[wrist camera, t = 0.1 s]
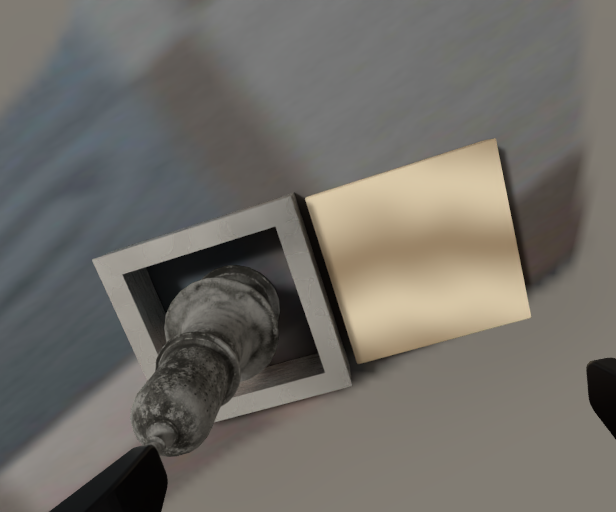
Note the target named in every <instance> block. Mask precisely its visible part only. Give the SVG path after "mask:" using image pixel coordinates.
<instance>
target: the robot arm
mask: <svg viewBox="0 0 616 512" xmlns="http://www.w3.org/2000/svg"><path fill="white" fill-rule="evenodd" d="M587 381H588V395H589V401H590V404H591V406H592V408H593V410H594V411H595V413H596V414H597V416H598V417H599V418H600V419H601V421H602V422H603V423H604V424H605V426H606V427H607V428H608V430H609V431H610V432H611V434H612V435H613V436H614V438H615V439H616V359H615V358H604V359H599V360H594V361H590V362H589V363H588V364H587ZM167 484H168V479H167V474H166V471H165V469H164V466H163V463H162V461H161V458H160V456H159V453H158V450H157V448H156V447H155V446H154V445H151V444H150V445H144V446H139V447H135V448H133V449H131V450H130V451H129V452H127V453H126V454H125V455H123V456H122V457H121V458H119V459H118V460H117V461H115V462H114V463H113V464H111V465H110V466H109V467H108V468H106V469H105V470H104V471H102V472H101V473H100V474H98V475H97V476H96V477H94V478H93V479H92V480H90V481H89V482H88V483H86V484H85V485H84V486H82V487H81V488H80V489H79V490H77V491H76V492H75V493H73V494H72V495H71V496H69V497H68V498H67V499H65V500H64V501H63V502H61V503H60V504H59V505H57V506H56V507H55V508H53V509H52V510H51V511H49V512H161V510H162V506H163V502H164V498H165V494H166V490H167Z"/></svg>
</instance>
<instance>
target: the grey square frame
mask: <svg viewBox="0 0 616 512" xmlns="http://www.w3.org/2000/svg"><path fill="white" fill-rule="evenodd" d="M272 227H276V230H277V233H278V236H279V239H280V242H281V244H282V247H283V250H284V253H285V256H286V259H287V262H288V265H289V268H290V271H291V274H292V277H293V280H294V283H295V286H296V289H297V291H298V294H299V297H300V300H301V303H302V306H303V309H304V312H305V315H306V318H307V321H308V324H309V327H310V330H311V333H312V336H313V338H314V341H315V344H316V347H317V350H318V353H316V354H313V355H309V356H305V357H302V358H298V359H294V360H291V361H287V362H283V363H280V364H276V365H272V366H269V367H265V368H264V369H263V370H262V371H261V372H260V373H259V374H257V375H255V376H254V377H252V378H250V379H249V380H246V381H242V382H240V384H239V387H238V389H237V391H236V393H235V395H234V396H233V397H232V398H231V400H230V401H229V402H228V403H226V404H225V405H223V406H221V407H220V409H219V412H218V414H217V416H216V419H215V421H214V422H217V421H221V420H225V419H229V418H233V417H236V416H240V415H244V414H248V413H252V412H255V411H259V410H263V409H267V408H271V407H274V406H278V405H282V404H286V403H290V402H293V401H297V400H301V399H305V398H309V397H312V396H316V395H320V394H324V393H328V392H331V391H335V390H339V389H343V388H347V387H350V386H352V380H351V373H350V366H349V361H348V358H347V355H346V352H345V349H344V346H343V343H342V340H341V336H340V333H339V330H338V327H337V324H336V321H335V318H334V315H333V312H332V309H331V305H330V302H329V299H328V296H327V293H326V290H325V287H324V284H323V281H322V278H321V274H320V271H319V268H318V265H317V262H316V259H315V256H314V253H313V250H312V247H311V243H310V240H309V237H308V234H307V231H306V228H305V225H304V222H303V219H302V216H301V213H300V209H299V206H298V203H297V200H296V197H295V194H294V193H291V194H288V195H285V196H281V197H278V198H275V199H272V200H269V201H266V202H263V203H260V204H257V205H253V206H250V207H247V208H244V209H241V210H238V211H235V212H232V213H229V214H225V215H222V216H219V217H216V218H213V219H210V220H207V221H204V222H201V223H197V224H194V225H191V226H188V227H185V228H182V229H179V230H176V231H173V232H169V233H166V234H163V235H160V236H157V237H154V238H151V239H148V240H145V241H141V242H138V243H135V244H132V245H129V246H126V247H123V248H120V249H117V250H114V251H112V252H109V253H107V254H105V255H102V256H100V257H98V258H95V259H93V260H92V261H93V263H94V265H95V267H96V270H97V272H98V274H99V276H100V278H101V280H102V283H103V285H104V287H105V289H106V291H107V294H108V296H109V298H110V300H111V302H112V305H113V307H114V309H115V311H116V313H117V315H118V318H119V320H120V322H121V324H122V326H123V329H124V331H125V333H126V335H127V337H128V339H129V342H130V344H131V346H132V348H133V350H134V353H135V355H136V357H137V359H138V361H139V363H140V366H141V368H142V370H143V372H144V374H145V377H146V379H147V381H148V380H149V379H150V377H151V376H152V375H153V374H154V372H155V366H156V359H157V357H158V354H159V352H160V350H161V349H162V347H163V346H164V345H165V344H166V343H167V342H166V336H165V330H164V326H165V318H166V313H165V311H164V309H163V306H162V304H161V302H160V299H159V297H158V295H157V292H156V290H155V288H154V285H153V283H152V281H151V278H150V276H149V274H148V271H147V269H146V267H148V266H151V265H154V264H157V263H160V262H164V261H167V260H170V259H173V258H176V257H179V256H183V255H186V254H189V253H192V252H195V251H199V250H202V249H205V248H208V247H211V246H215V245H218V244H221V243H224V242H227V241H231V240H234V239H237V238H240V237H243V236H246V235H250V234H253V233H256V232H259V231H262V230H266V229H269V228H272Z"/></svg>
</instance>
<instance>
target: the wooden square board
mask: <svg viewBox="0 0 616 512" xmlns="http://www.w3.org/2000/svg"><path fill="white" fill-rule="evenodd" d="M305 201H306V204H307V207H308V210H309V213H310V216H311V219H312V223H313V226H314V229H315V232H316V235H317V238H318V241H319V245H320V248H321V251H322V254H323V257H324V260H325V264H326V267H327V270H328V273H329V276H330V279H331V282H332V286H333V289H334V292H335V295H336V298H337V301H338V304H339V308H340V311H341V314H342V317H343V320H344V323H345V326H346V330H347V333H348V336H349V339H350V342H351V345H352V348H353V352H354V355H355V358H356V361H357V364H361V363H364V362H368V361H372V360H376V359H379V358H383V357H387V356H390V355H394V354H398V353H402V352H405V351H409V350H413V349H417V348H420V347H424V346H428V345H431V344H435V343H439V342H443V341H446V340H450V339H454V338H457V337H461V336H465V335H469V334H472V333H476V332H480V331H484V330H487V329H491V328H495V327H498V326H502V325H506V324H509V323H513V322H517V321H521V320H524V319H528V318H531V313H530V308H529V303H528V298H527V293H526V288H525V283H524V278H523V273H522V268H521V263H520V258H519V253H518V248H517V243H516V238H515V233H514V228H513V223H512V217H511V212H510V207H509V202H508V197H507V192H506V187H505V182H504V177H503V172H502V167H501V162H500V157H499V152H498V147H497V142H496V138H495V139H489V140H484V141H481V142H478V143H474V144H471V145H468V146H465V147H462V148H459V149H456V150H452V151H449V152H446V153H443V154H440V155H437V156H434V157H431V158H427V159H424V160H421V161H418V162H415V163H412V164H409V165H405V166H402V167H399V168H396V169H393V170H390V171H387V172H384V173H380V174H377V175H374V176H371V177H368V178H365V179H362V180H358V181H355V182H352V183H349V184H346V185H343V186H340V187H336V188H333V189H330V190H327V191H324V192H321V193H318V194H315V195H311V196H308V197H306V198H305Z"/></svg>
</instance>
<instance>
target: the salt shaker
mask: <svg viewBox="0 0 616 512" xmlns="http://www.w3.org/2000/svg"><path fill="white" fill-rule="evenodd" d="M279 314H280V304H279V298H278V296H277V293H276V290H275V288H274V287H273V286H272V284H271V283H270V281H269V280H268V279H267V278H265V277H264V276H263V275H262V274H261V273H259V272H257V271H255V270H253V269H251V268H249V267H244V266H239V265H230V266H223V267H220V268H217V269H214V270H213V271H211V272H210V273H208V274H207V275H205V276H204V278H203V279H202V280H200V281H197V282H194V283H192V284H190V285H189V286H187V287H186V288H184V289H183V290H181V291H180V292H179V294H178V295H177V296H176V297H175V298H174V300H173V301H172V302H171V304H170V306H169V309H168V311H167V313H166V318H165V326H164V330H165V336H166V342H167V343H166V344H165V345H164V346H163V347H162V349H161V350H160V352H159V354H158V357H157V359H156V366H155V372H154V374H153V375H152V376H151V377H150V379H149V380H148V381H147V382H146V384H145V385H144V386H143V387H142V389H141V390H140V391H139V392H138V394H137V396H136V398H135V400H134V403H133V405H132V408H131V416H130V419H131V424H132V428H133V431H134V433H135V435H136V437H137V439H138V441H139V442H140V443H141V444H142V445H143V446H144V445H150V444H151V445H154V446H155V447H156V448H157V450H158V453H159V455H162V456H167V457H171V456H179V455H183V454H186V453H190V452H191V451H193V450H195V449H196V448H198V447H199V446H200V445H201V443H202V442H203V441H204V440H205V439H206V438H207V436H208V435H209V432H210V430H211V428H212V426H213V424H214V421H215V419H216V416H217V414H218V412H219V409H220V407H221V406H223V405H225V404H226V403H228V402H229V401H230V400H231V398H232V397H233V396H234V395H235V393H236V391H237V389H238V387H239V384H240V382H242V381H246V380H249V379H250V378H252V377H254V376H255V375H257V374H259V373H260V372H261V371H262V370H263V369H264V368H265V367H266V366H267V365H268V364H269V363H270V361H271V359H272V358H273V356H274V354H275V352H276V349H277V344H278V338H279V332H278V319H279Z"/></svg>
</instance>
